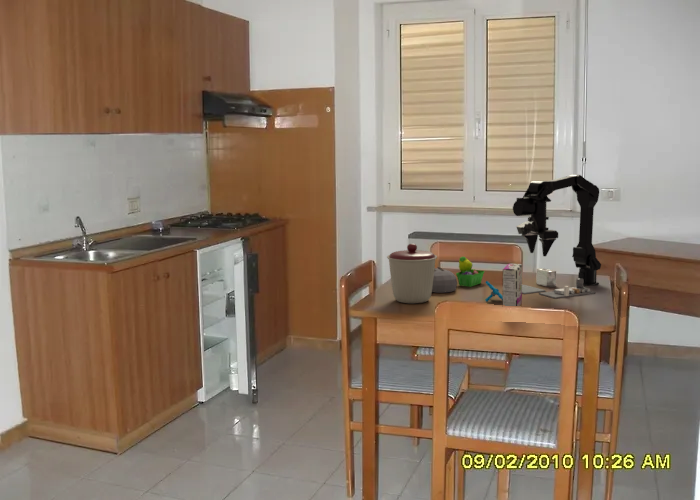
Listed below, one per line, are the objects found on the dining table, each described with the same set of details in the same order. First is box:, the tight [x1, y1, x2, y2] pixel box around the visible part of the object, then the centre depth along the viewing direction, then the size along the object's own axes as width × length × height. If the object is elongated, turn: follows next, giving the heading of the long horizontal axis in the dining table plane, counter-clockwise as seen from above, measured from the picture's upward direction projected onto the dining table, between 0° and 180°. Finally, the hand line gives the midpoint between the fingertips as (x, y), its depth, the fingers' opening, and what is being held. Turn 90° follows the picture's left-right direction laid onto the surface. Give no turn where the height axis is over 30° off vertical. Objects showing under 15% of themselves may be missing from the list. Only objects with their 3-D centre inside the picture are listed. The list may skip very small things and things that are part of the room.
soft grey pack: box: [432, 266, 458, 294], centre depth 286 cm, size 15×8×20 cm
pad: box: [522, 284, 546, 295], centre depth 282 cm, size 10×13×1 cm
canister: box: [386, 243, 438, 304], centre depth 263 cm, size 18×18×21 cm
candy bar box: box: [502, 263, 523, 307], centre depth 239 cm, size 11×5×16 cm, turn 158°
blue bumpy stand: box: [484, 280, 503, 302], centre depth 262 cm, size 11×6×10 cm
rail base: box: [538, 285, 596, 299], centre depth 272 cm, size 19×9×4 cm, turn 115°
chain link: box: [535, 267, 557, 288], centre depth 291 cm, size 4×10×6 cm, turn 25°
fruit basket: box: [455, 256, 485, 288], centre depth 294 cm, size 11×9×11 cm
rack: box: [553, 278, 591, 294], centre depth 273 cm, size 13×5×4 cm, turn 115°
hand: (538, 254), depth 279 cm, fingers open, 9 cm apart
